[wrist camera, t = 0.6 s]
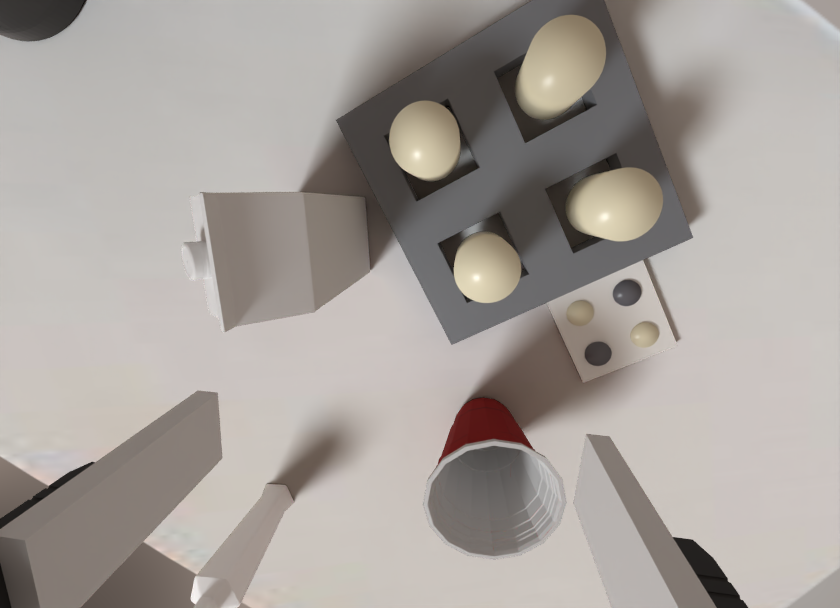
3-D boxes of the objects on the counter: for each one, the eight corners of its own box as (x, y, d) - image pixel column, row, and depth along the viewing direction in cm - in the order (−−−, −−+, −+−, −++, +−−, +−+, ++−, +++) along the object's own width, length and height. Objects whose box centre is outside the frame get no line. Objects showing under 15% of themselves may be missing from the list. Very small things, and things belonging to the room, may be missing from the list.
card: (545, 300, 38) (546, 302, 37) (639, 258, 36) (643, 259, 35) (581, 380, 39) (584, 383, 38) (674, 343, 37) (679, 346, 37)
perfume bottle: (303, 494, 46) (230, 626, 32) (285, 518, 47) (206, 657, 33) (270, 472, 46) (181, 595, 31) (253, 497, 47) (159, 627, 32)
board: (344, 125, 36) (336, 120, 33) (580, -18, 31) (590, -36, 29) (452, 336, 40) (451, 344, 37) (677, 235, 35) (693, 237, 33)
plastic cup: (514, 482, 43) (532, 585, 31) (420, 446, 43) (403, 535, 31) (557, 397, 40) (595, 476, 28) (456, 359, 40) (452, 421, 28)
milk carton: (366, 196, 37) (270, 189, 19) (370, 272, 39) (287, 332, 21) (293, 199, 38) (133, 195, 20) (301, 273, 40) (160, 332, 21)
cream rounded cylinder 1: (392, 138, 33) (376, 123, 27) (444, 107, 32) (440, 86, 26) (418, 191, 34) (409, 189, 28) (470, 163, 33) (471, 155, 27)
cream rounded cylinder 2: (504, 72, 31) (514, 42, 25) (564, 38, 30) (588, -2, 24) (530, 131, 32) (544, 115, 26) (588, 99, 31) (617, 75, 25)
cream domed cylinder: (556, 192, 32) (576, 189, 27) (614, 162, 31) (647, 153, 26) (578, 244, 33) (602, 253, 27) (636, 218, 32) (673, 221, 26)
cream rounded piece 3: (446, 247, 34) (442, 255, 29) (497, 221, 34) (504, 225, 28) (469, 295, 35) (471, 313, 29) (520, 272, 34) (532, 285, 29)
